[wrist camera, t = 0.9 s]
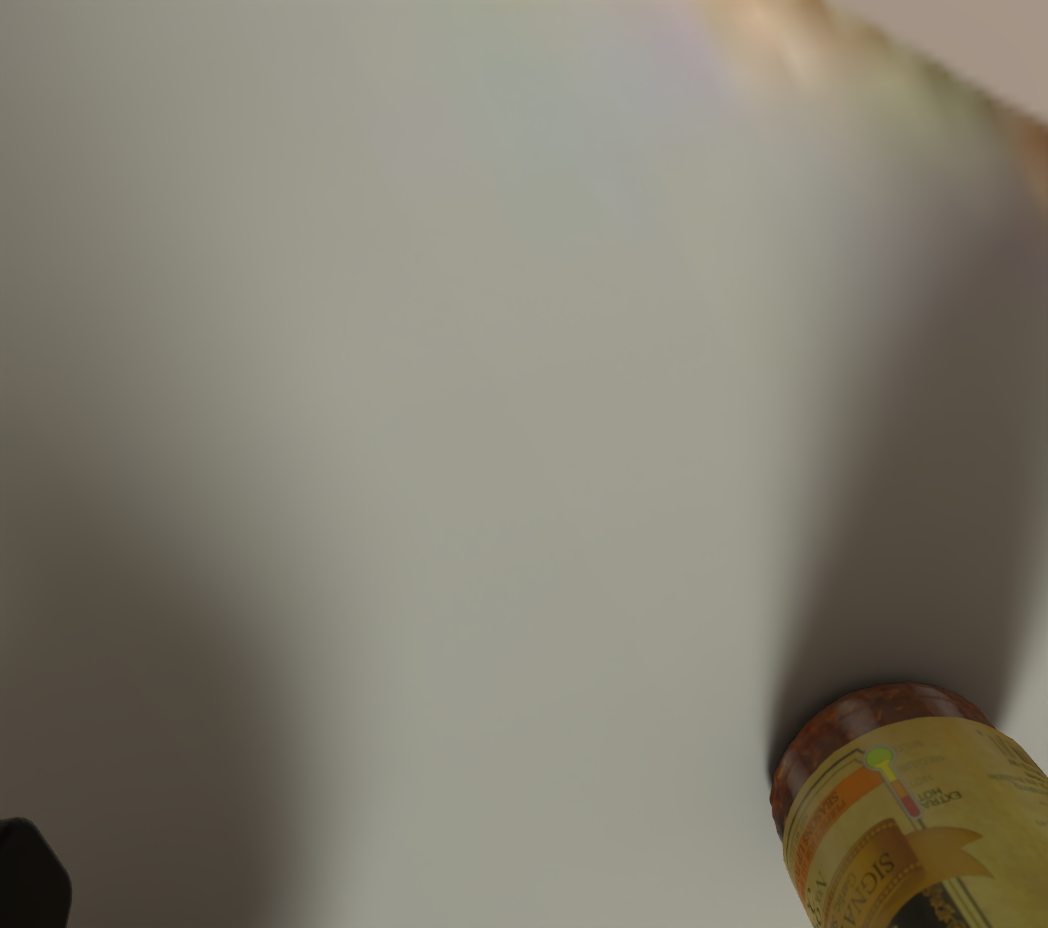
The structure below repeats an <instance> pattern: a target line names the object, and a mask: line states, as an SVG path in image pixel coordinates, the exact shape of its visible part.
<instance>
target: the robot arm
mask: <svg viewBox="0 0 1048 928" xmlns="http://www.w3.org/2000/svg"><path fill="white" fill-rule="evenodd" d="M71 902H72V886H71V881H70V877H69V874H68V872H67V871H66V869H65V868H64V866H63V865H62V863H61V862H60V860H59V859H58V857H57V856H56V855H55V853H54V852H53V850H52V849H51V847H50V846H49V844H48V843H47V841H46V840H45V839H44V837H43V836H42V834H41V833H40V831H39V830H38V828H37V827H36V826H35V825H34V823H33V822H31V821H30V820H28V819H26V818H21V817H15V818H9V819H3V820H0V928H67V923H68V918H69V913H70V908H71Z"/></svg>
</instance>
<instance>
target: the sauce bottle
mask: <svg viewBox="0 0 1048 928" xmlns="http://www.w3.org/2000/svg"><path fill="white" fill-rule="evenodd" d="M770 803H771V806H772V815H773V818H774V821H775V824H776V829H777V833H778V835H779V838H780V840H781V842H782V843H783V856H784V862H785V865H786V868H787V871H788V873H789V876H790V878H791V881H792V883H793V885H794V887H795V889H796V891H797V893H798V895H799V898H800V900H801V902H802V904H803V906H804V908H805V911H806V913H807V915H808V917H809V919H810V921H811V924H812V926H813V928H1048V777H1047V776H1046V775H1045V774H1044V773H1043V771H1042V770H1041V769H1040V768H1039V767H1038V766H1037V764H1036V763H1035V762H1034V761H1033V760H1032V759H1031V757H1030V756H1029V755H1028V754H1027V753H1026V752H1025V750H1024V749H1023V748H1022V747H1021V746H1020V745H1019V744H1018V743H1016V742H1015V741H1014V740H1013V739H1011V738H1010V737H1008V736H1006V735H1005V734H1003V733H1001V732H999V731H998V730H996V729H995V728H994V727H993V726H992V725H991V724H990V723H989V721H988V720H987V719H986V718H985V717H984V715H983V714H982V712H981V711H980V710H979V709H978V708H977V707H976V706H975V705H973V704H971V703H969V702H968V701H967V700H966V699H964V698H963V697H962V696H960V695H958V694H956V693H953V692H949V691H946V690H944V689H942V688H939V687H937V686H935V685H927V684H919V683H911V682H909V681H907V682H902V683H895V684H881V685H877V686H874V687H871V688H865V689H861V690H857V691H854V692H851V693H848V694H846V695H844V696H842V697H840V698H839V699H837V700H836V701H835V702H833V703H832V704H830V705H827V706H825V708H824V709H823V710H822V711H820V712H819V713H818V714H817V715H815V716H814V717H813V718H811V719H810V720H809V721H808V722H807V723H806V724H805V725H804V727H803V728H802V729H801V730H800V732H799V733H798V734H797V736H796V737H795V738H794V740H793V741H792V742H791V743H790V744H789V746H788V748H787V749H786V751H785V753H784V754H783V756H782V758H781V761H780V764H779V766H778V768H777V769H776V770H775V772H774V785H773V787H772V790H771V794H770Z"/></svg>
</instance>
